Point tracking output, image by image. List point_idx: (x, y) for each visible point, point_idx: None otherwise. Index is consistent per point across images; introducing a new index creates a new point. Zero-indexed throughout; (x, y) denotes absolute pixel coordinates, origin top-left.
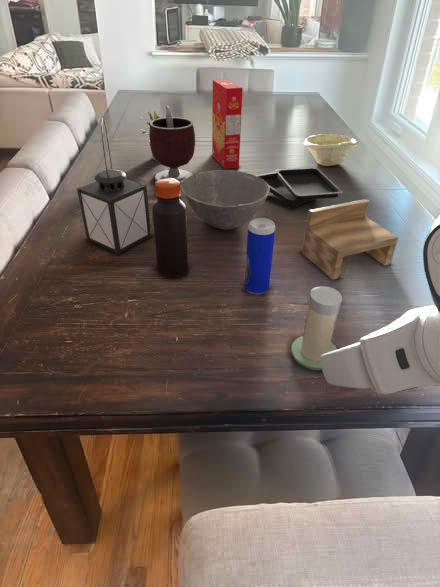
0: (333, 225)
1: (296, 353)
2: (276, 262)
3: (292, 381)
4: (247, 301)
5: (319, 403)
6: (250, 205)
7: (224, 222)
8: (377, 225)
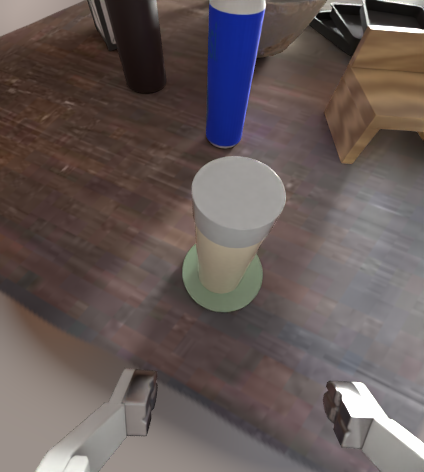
0: (396, 73)
1: (190, 261)
2: (279, 113)
3: (146, 307)
4: (196, 151)
5: None
6: (281, 8)
7: None
8: None
